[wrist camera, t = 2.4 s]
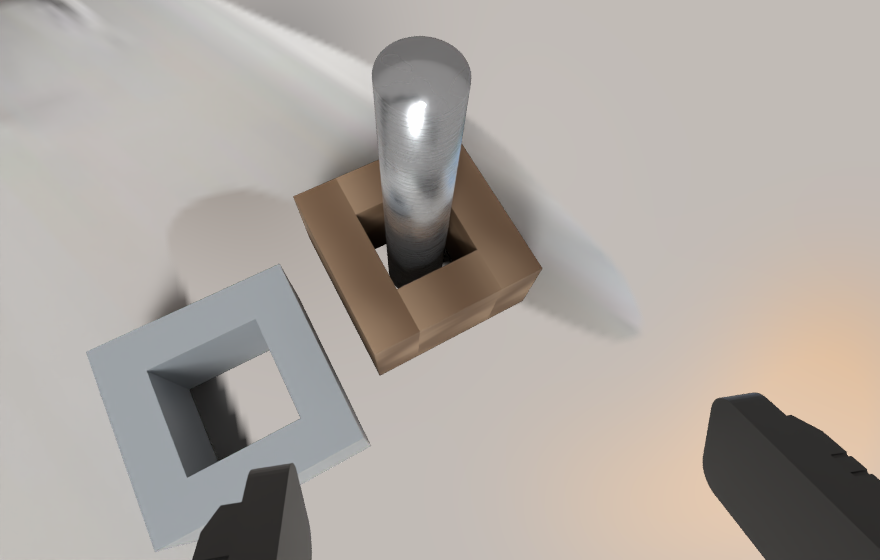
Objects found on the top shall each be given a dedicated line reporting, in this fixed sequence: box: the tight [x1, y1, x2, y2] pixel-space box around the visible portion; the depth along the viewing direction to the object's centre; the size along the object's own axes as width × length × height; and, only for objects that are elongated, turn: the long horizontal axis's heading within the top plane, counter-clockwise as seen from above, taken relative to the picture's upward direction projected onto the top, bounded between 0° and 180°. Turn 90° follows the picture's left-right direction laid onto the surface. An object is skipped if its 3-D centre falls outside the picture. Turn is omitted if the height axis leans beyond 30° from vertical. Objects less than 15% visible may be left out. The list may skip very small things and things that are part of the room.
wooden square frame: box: [293, 143, 542, 375], centre depth 29 cm, size 9×9×5 cm
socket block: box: [86, 264, 371, 552], centre depth 26 cm, size 9×9×5 cm
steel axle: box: [372, 36, 471, 289], centre depth 24 cm, size 3×3×16 cm
